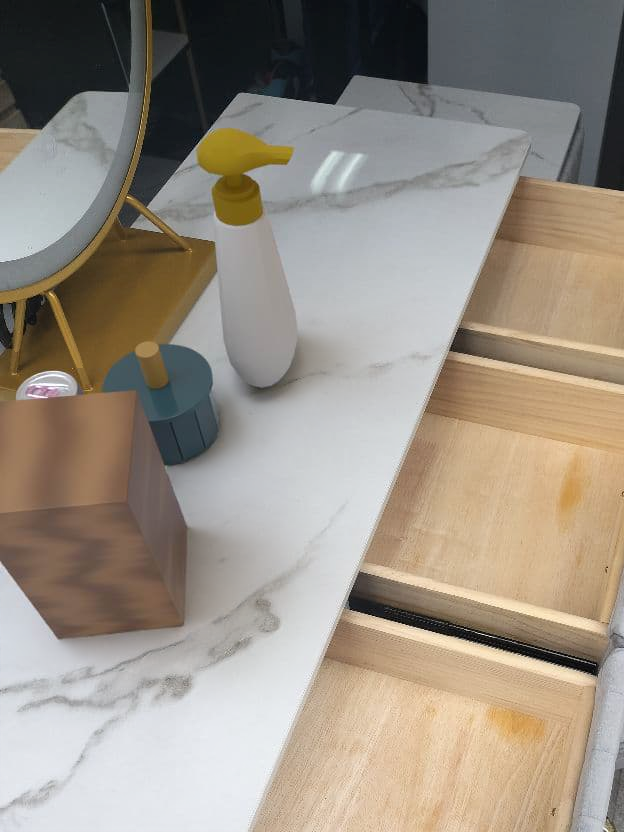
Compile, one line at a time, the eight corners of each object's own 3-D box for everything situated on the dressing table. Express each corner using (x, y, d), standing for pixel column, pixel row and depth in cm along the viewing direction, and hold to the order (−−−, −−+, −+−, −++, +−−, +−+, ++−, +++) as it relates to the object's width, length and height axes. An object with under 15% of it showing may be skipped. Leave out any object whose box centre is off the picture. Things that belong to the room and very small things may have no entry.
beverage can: (81, 465, 90) (30, 365, 78) (132, 473, 90) (89, 373, 78) (58, 507, 87) (2, 409, 75) (111, 516, 87) (63, 419, 74)
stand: (57, 639, 78) (-35, 516, 62) (70, 537, 85) (-9, 401, 69) (183, 626, 79) (126, 501, 63) (187, 526, 86) (136, 389, 69)
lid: (99, 429, 84) (83, 394, 80) (108, 352, 91) (94, 316, 86) (212, 419, 85) (202, 384, 81) (213, 343, 92) (204, 307, 87)
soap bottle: (311, 406, 96) (282, 174, 72) (224, 402, 96) (165, 170, 72) (323, 332, 103) (300, 99, 79) (241, 328, 103) (194, 95, 79)
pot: (122, 469, 90) (103, 425, 84) (129, 400, 96) (112, 355, 90) (219, 460, 91) (207, 417, 85) (219, 392, 97) (208, 347, 91)
